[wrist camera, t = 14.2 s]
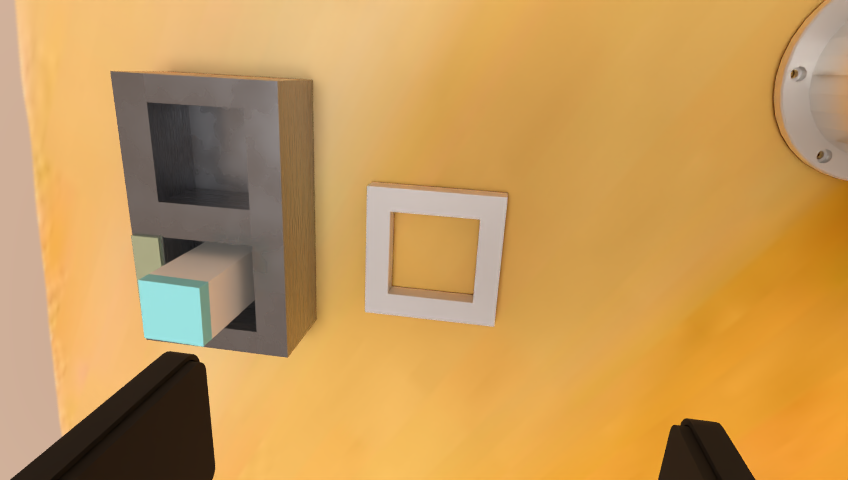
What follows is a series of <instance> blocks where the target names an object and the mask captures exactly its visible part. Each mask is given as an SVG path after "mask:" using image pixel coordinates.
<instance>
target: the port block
mask: <svg viewBox="0 0 848 480" xmlns="http://www.w3.org/2000/svg"><path fill="white" fill-rule="evenodd" d="M110 72H111V79H112V87H113V94H114V102H115V109H116V117H117V124H118V131H119V139H120V146H121V154H122V161H123V168H124V176H125V183H126V191H127V198H128V206H129V213H130V220H131V228H132V235H131V239H132V246H133V254H134V261H135V268H136V276H137V283H138V280H139V279H141V278H142V277H144V276H146V275H148V274H149V273H151V272H153V271H155V270H156V269H158V268H160V267H162V266H164V265H165V264H167V263H169V262H171V261H172V260H174V259H176V258H178V257H179V256H181V255H183V254H185V253H187V252H188V251H190V250H192V249H194V248H195V247H197V246H199V245H201V244H203V243H204V242H215V243H225V244H235V245H245V246H252V259H253V276H254V293H255V300H254V301H253V302H252V303H251V304H250V305H249V306H248V307H247V308H245V309H244V310H243V311H242V312H241V313H240V314H239V315H238V316H237V317H236V318H234V319H233V320H232V321H231V322H230V323H229V324H228V325H227V326H226V327H225V328H224V329H222V330H221V331H220V332H219V333H218V334H217V335H216V336H215V337H214V338H213V339H211V340H210V341H209V342H208V343H207V344H206V345H205V346H204V347H209V348H217V349H225V350H233V351H240V352H248V353H256V354H264V355H272V356H280V357H288V356H289V355H290V354H291V353H292V351H293V350H294V349H295V347H296V346H297V345H298V343H299V342H300V341H301V339H302V338H303V337H304V335H305V334H306V333H307V331H308V330H309V329H310V328H311V326H312V325H313V324H314V322H315V321H316V269H315V210H314V150H313V91H312V80H305V79H287V78H270V77H253V76H235V75H218V74H201V73H184V72H145V71H110ZM138 290H139V284H138ZM139 298H140V293H139ZM140 305H141V302H140ZM141 312H142V311H141ZM146 339H147V340H154V341H162V340H155V339H149V338H146ZM162 342H169V341H162ZM170 343H176V342H170ZM178 344H182V343H178ZM186 345H189V344H186ZM193 346H196V345H193ZM201 347H203V346H201Z"/></svg>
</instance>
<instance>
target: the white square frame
mask: <svg viewBox="0 0 848 480" xmlns="http://www.w3.org/2000/svg"><path fill="white" fill-rule="evenodd" d="M507 200H508V193H504V192H491V191H479V190H467V189H455V188H443V187H430V186H418V185H406V184H394V183H382V182H371V183H370V184H369V185H368V186H367V221H366V282H365V312H370V313H379V314H387V315H396V316H405V317H414V318H423V319H431V320H440V321H449V322H458V323H466V324H475V325H484V326H493V327H494V323H495V314H496V304H497V295H498V285H499V276H500V266H501V257H502V247H503V238H504V228H505V219H506V209H507ZM394 212H401V213H412V214H423V215H435V216H446V217H457V218H468V219H480V228H479V240H478V251H477V262H476V273H475V284H474V295H470V294H461V293H451V292H442V291H433V290H423V289H414V288H405V287H395V286H392V263H393V233H394Z"/></svg>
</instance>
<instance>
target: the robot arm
mask: <svg viewBox="0 0 848 480" xmlns="http://www.w3.org/2000/svg"><path fill="white" fill-rule="evenodd" d="M792 70H794V72H795V75H794V76H793V77H792V78H791V72H792ZM774 107H775V117H776V120H777V123H778V126H779V129H780V132H781V135H782V136H783V138H784V140H785V141H786V143H787V145H788V146H789V148H790V149H791V150H792V151H793V152H794V153H795V154H796V155H797V156H798V157H799V158H800V159H801V160H802V161H803V162H804V163H806V164H807V165H809V166H810V167H812V168H814V169H815V170H817V171H818V172H821V173H824V174H826V175H829V176H832V177H834V178H838V179H842V180H846V181H848V0H825V1H824V2H823V3H822V4H821V5H820V6H819V7H818V8H817V9H816V10H815V11H814V12H813V13H812V14H811V15H810V16H809V17H808V18H807V19H806V20H805V21H804V22H803V24H802V25H801V27H800V28H799V29H798V31H797V32H796V33H795V35H794V36H793V38H792V39H791V41H790V43H789V45H788V47H787V49H786V51H785V53H784V55H783V57H782V59H781V63H780V66H779V69H778V73H777V76H776V80H775V90H774ZM819 152H820V155H819V157H817V155H818V153H819ZM214 472H215V459H214V448H213V438H212V427H211V417H210V406H209V396H208V386H207V375H206V368H205V365H204V364H203V363H201V362H199V359H198V357H197V356H196V355H194V354H187V353H179V352H171V351H170V352H166V353H164V354H162V355H161V356H160V357H159V358H158V359H156V360H155V361H154V362H153V363H151V364H150V365H149V366H148V367H147V368H145V369H144V370H143V371H142V372H141V373H139V374H138V375H137V376H136V377H134V378H133V379H132V380H131V381H130V382H128V383H127V384H126V385H125V386H124V387H122V388H121V389H120V390H119V391H117V392H116V393H115V394H114V395H113V396H111V397H110V398H109V399H108V400H106V401H105V402H104V403H103V404H102V405H100V406H99V407H98V408H97V409H96V410H94V411H93V412H92V413H91V414H89V415H88V416H87V417H86V418H85V419H83V420H82V421H81V422H80V423H79V424H77V425H76V426H75V427H74V428H72V429H71V430H70V431H69V432H68V433H66V434H65V435H64V436H63V437H62V438H60V439H59V440H58V441H57V442H55V443H54V444H53V445H52V446H51V447H49V448H48V449H47V450H46V451H45V452H43V453H42V454H41V455H40V456H39V457H37V458H36V459H35V460H34V461H32V462H31V463H30V464H29V465H28V466H26V467H25V468H24V469H23V470H21V471H20V472H19V473H18V474H17V475H15V476H14V477H13V478H12V479H11V480H212V479H213V476H214ZM658 480H755V478H754V477H753V475H752V473H751V472H750V470H749V469H748V467H747V465H746V464H745V462H744V461H743V459H742V457H741V456H740V454H739V452H738V451H737V449H736V448H735V446H734V444H733V443H732V441H731V440H730V438H729V436H728V435H727V433H726V432H725V430H724V428H723V427H722V426H721V425H720V424H719V423H717V422H710V421H703V420H695V419H687V418H686V419H684V420H683V421H682V422H681V425H680V426H679V425H673V426H672V427H671V430H670V433H669V437H668V441H667V445H666V450H665V454H664V458H663V462H662V466H661V470H660V474H659V478H658Z"/></svg>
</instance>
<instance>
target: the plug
mask: <svg viewBox="0 0 848 480" xmlns="http://www.w3.org/2000/svg"><path fill="white" fill-rule="evenodd" d="M138 284H139V293H140V302H141V311H142V320H143V328H144V337H145V338H149V339H155V340H162V341H169V342H176V343H182V344H189V345H196V346H203V347H204V346H205V345H206V344H207V343H208V342H209V341H210V340H211V339H213V338H214V337H215V336H216V335H217V334H218V333H219V332H220V331H221V330H222V329H224V328H225V327H226V326H227V325H228V324H229V323H230V322H231V321H232V320H233V319H234V318H236V317H237V316H238V315H239V314H240V313H241V312H242V311H243V310H244V309H245V308H247V307H248V306H249V305H250V304H251V303H252V302H253V301H254V300H255V293H254V276H253V259H252V246H245V245H235V244H225V243H215V242H204V243H203V244H201V245H199V246H197V247H195V248H194V249H192V250H190V251H188V252H187V253H185V254H183V255H181V256H179V257H178V258H176V259H174V260H172V261H171V262H169V263H167V264H165V265H164V266H162V267H160V268H158V269H156V270H155V271H153V272H151V273H149V274H148V275H146V276H144V277H142V278H141V279H139V280H138Z"/></svg>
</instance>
